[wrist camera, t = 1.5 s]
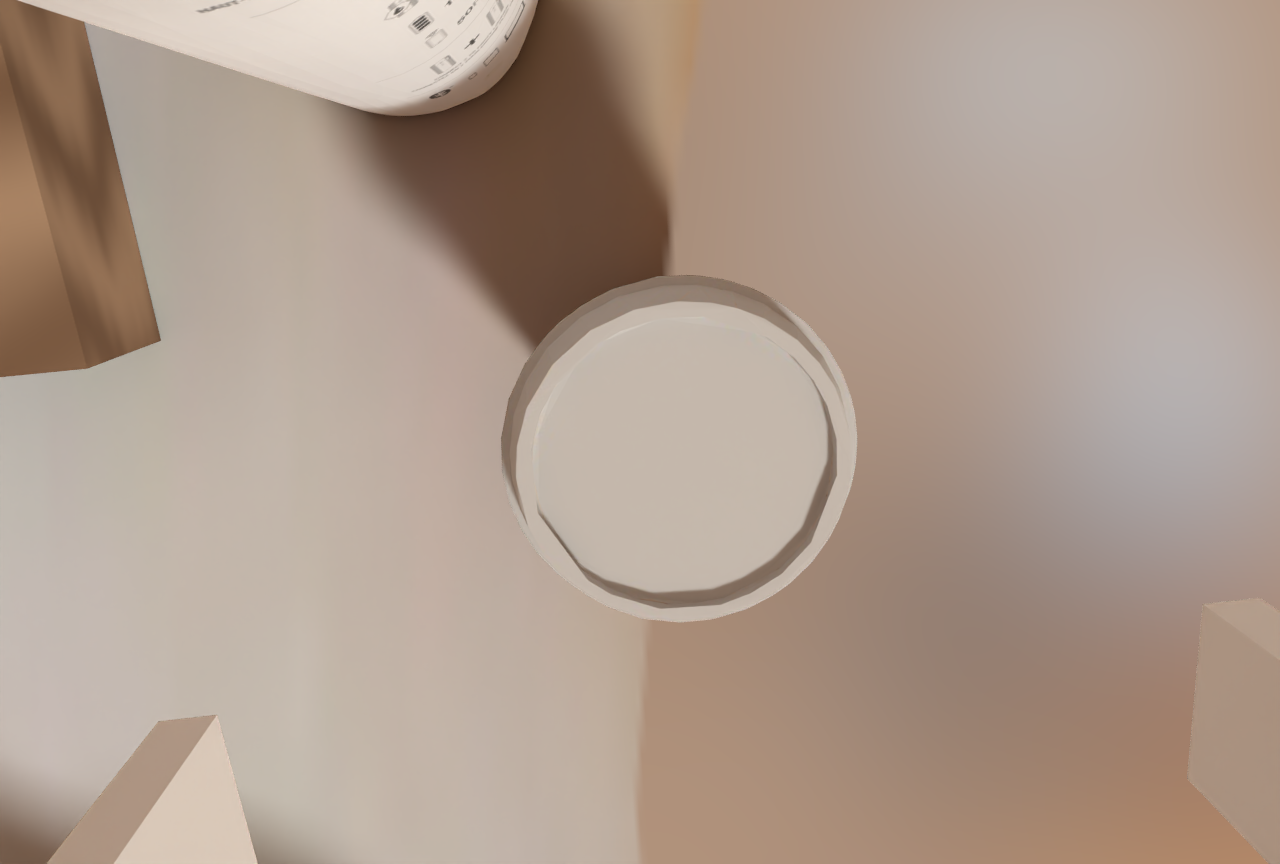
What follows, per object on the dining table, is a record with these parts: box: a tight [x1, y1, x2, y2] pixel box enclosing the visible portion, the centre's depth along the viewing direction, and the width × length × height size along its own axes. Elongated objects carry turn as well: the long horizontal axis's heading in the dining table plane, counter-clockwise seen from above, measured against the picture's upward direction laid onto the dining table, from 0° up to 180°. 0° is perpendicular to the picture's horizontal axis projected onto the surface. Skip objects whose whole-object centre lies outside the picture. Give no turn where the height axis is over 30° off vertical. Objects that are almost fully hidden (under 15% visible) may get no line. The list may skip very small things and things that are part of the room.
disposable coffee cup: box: [501, 275, 857, 622], centre depth 29 cm, size 10×10×12 cm
